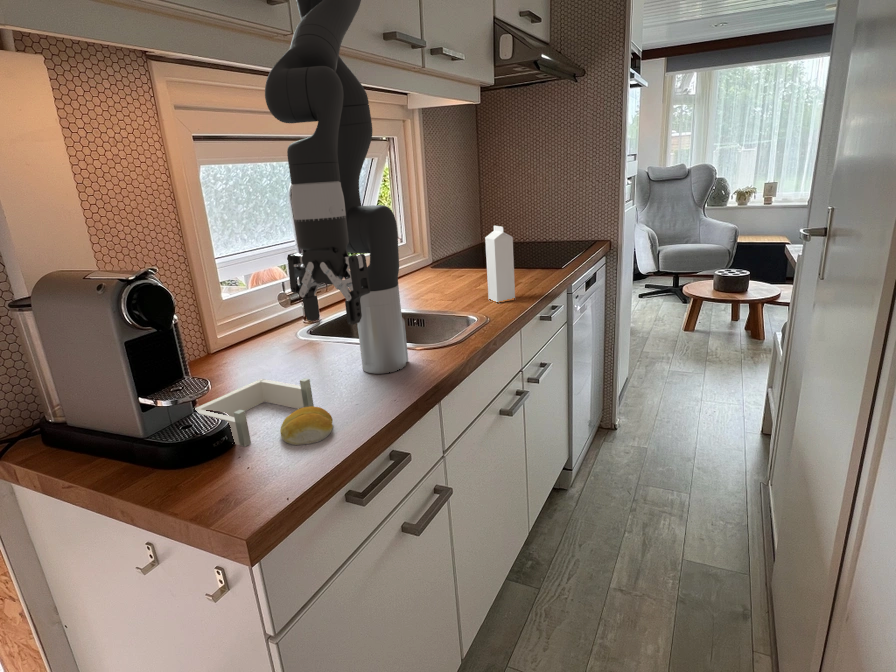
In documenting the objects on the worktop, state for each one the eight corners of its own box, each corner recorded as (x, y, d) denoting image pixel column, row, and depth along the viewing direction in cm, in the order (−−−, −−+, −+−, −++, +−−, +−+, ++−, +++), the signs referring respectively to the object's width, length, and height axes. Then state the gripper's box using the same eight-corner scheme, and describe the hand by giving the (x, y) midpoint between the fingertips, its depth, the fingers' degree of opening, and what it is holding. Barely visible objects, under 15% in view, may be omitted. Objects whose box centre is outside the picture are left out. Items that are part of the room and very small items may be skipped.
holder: (264, 398, 107) (259, 370, 105) (314, 408, 100) (309, 379, 99) (193, 432, 94) (186, 401, 93) (245, 446, 88) (238, 413, 86)
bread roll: (332, 418, 96) (329, 396, 95) (334, 441, 88) (330, 417, 87) (282, 426, 95) (279, 404, 94) (279, 450, 86) (275, 426, 85)
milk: (505, 297, 172) (503, 224, 166) (515, 301, 167) (512, 225, 161) (487, 300, 170) (484, 226, 164) (497, 304, 165) (493, 227, 158)
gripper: (373, 211, 82) (384, 319, 87) (304, 214, 90) (317, 313, 94) (338, 216, 76) (352, 331, 81) (267, 218, 84) (282, 324, 88)
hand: (333, 321), depth 87 cm, fingers open, 8 cm apart
